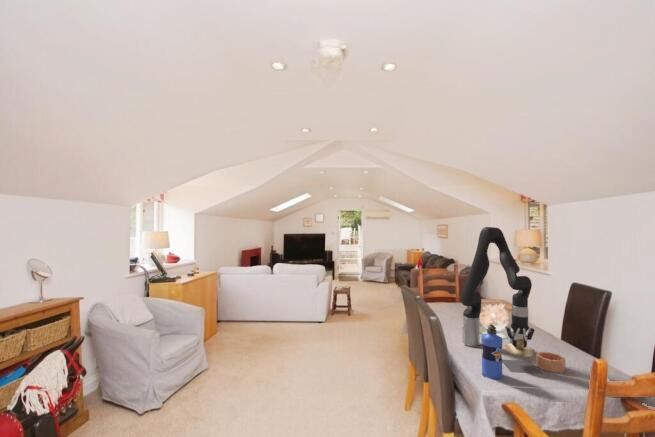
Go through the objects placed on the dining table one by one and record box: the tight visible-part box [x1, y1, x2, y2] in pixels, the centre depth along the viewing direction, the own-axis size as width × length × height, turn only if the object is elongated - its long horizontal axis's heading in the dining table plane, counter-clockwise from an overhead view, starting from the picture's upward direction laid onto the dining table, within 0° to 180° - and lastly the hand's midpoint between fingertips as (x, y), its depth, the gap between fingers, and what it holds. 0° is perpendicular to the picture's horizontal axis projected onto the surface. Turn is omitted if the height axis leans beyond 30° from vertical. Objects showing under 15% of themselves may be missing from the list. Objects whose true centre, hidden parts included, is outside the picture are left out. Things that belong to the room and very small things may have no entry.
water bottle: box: [480, 324, 503, 380], centre depth 163 cm, size 9×9×25 cm
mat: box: [502, 359, 544, 375], centre depth 172 cm, size 15×15×1 cm
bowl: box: [535, 351, 566, 373], centre depth 171 cm, size 12×12×6 cm
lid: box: [503, 338, 536, 358], centre depth 173 cm, size 14×14×6 cm
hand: (519, 346), depth 173 cm, fingers closed on lid, 4 cm apart
